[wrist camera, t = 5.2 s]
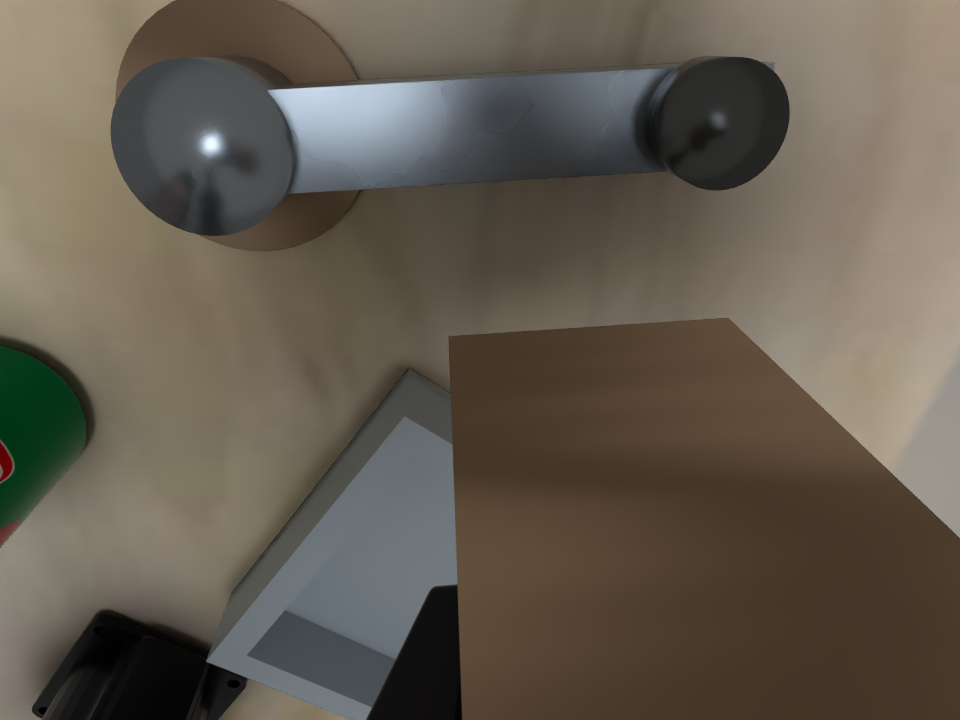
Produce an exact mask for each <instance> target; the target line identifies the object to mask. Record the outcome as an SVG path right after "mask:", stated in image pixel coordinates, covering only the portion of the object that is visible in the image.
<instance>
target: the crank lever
mask: <svg viewBox="0 0 960 720" xmlns="http://www.w3.org/2000/svg"><path fill="white" fill-rule="evenodd" d="M774 64H775V63H774V62H759V61H757V60H754V59H750V58H744V57H723V56H705V57H699V58H695V59H692V60H690V61H687V62H684V63H665V64H647V65H628V66H610V67H591V68H573V69H554V70H536V71H517V72H499V73H480V74H462V75H443V76H425V77H406V78H388V79H369V80H351V81H332V82H314V83H295V84H293V83H292V82H291V81H290V80H289V79H288V78H287V77H286V76H285V75H283V74H282V73H281V72H279V71H278V70H277V69H275V68H273V67H272V66H270V65H268V64H266V63H264V62H262V61H260V60H257V59H253V58H250V57H245V56H236V55H227V56H209V57H191V58H176V59H168V60H164V61H161V62H157V63H155V64H152V65H150V66H148V67H146V68H144V69H143V70H142V71H140V72H139V73H137V74H136V75H135V76H134V77H133V78H132V79H131V80H130V81H129V82H128V83H127V84H126V86H125V87H124V88H123V90H122V91H121V93H120V95H119V97H118V99H117V101H116V104H115V107H114V110H113V115H112V120H111V142H112V148H113V153H114V157H115V160H116V163H117V165H118V168H119V170H120V172H121V174H122V176H123V178H124V180H125V182H126V183H127V185H128V187H129V188H130V190H131V191H132V192H133V193H134V195H135V196H136V197H137V198H138V200H139V201H140V202H141V203H142V204H143V205H144V206H145V207H146V208H147V209H149V210H150V211H151V212H152V213H154V214H155V215H156V216H157V217H159V218H161V219H162V220H164V221H165V222H167V223H169V224H171V225H173V226H175V227H177V228H179V229H182V230H185V231H187V232H191V233H195V234H199V235H207V236H223V235H231V234H235V233H239V232H242V231H244V230H247V229H249V228H251V227H253V226H254V225H256V224H258V223H259V222H260V221H262V220H263V219H264V218H265V217H266V216H267V215H268V214H269V213H270V212H271V211H272V210H273V209H274V208H275V207H276V206H277V205H278V204H279V203H280V202H281V201H282V200H283V199H284V198H285V197H286V196H287V195H288V194H292V193H309V192H325V191H342V190H359V189H376V188H392V187H409V186H426V185H443V184H460V183H476V182H493V181H510V180H527V179H543V178H560V177H577V176H594V175H611V174H627V173H644V172H661V171H668V172H670V173H672V174H674V175H675V176H677V177H679V178H681V179H683V180H684V181H686V182H688V183H690V184H692V185H694V186H696V187H699V188H702V189H707V190H726V189H730V188H734V187H737V186H740V185H742V184H744V183H746V182H748V181H750V180H751V179H753V178H754V177H756V176H757V175H758V174H759V173H761V172H762V171H763V170H764V169H765V168H766V167H767V166H768V165H769V164H770V162H771V161H772V160H773V159H774V157H775V156H776V154H777V153H778V151H779V149H780V147H781V145H782V143H783V141H784V138H785V135H786V132H787V128H788V124H789V115H790V114H789V101H788V96H787V93H786V89H785V87H784V85H783V83H782V81H781V80H780V78H779V77H778V75H777V74H776V73H775V72H774Z"/></svg>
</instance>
